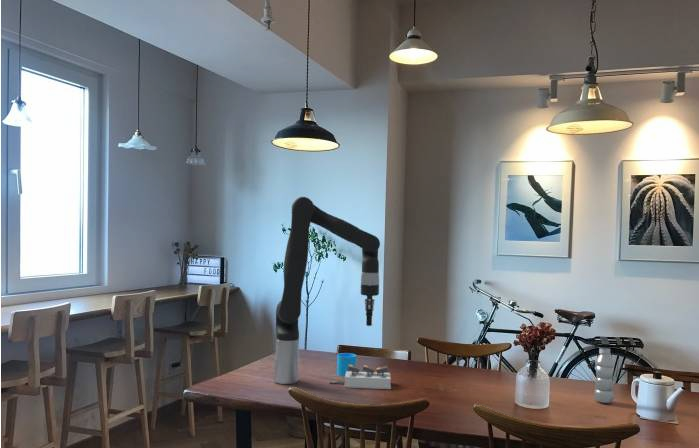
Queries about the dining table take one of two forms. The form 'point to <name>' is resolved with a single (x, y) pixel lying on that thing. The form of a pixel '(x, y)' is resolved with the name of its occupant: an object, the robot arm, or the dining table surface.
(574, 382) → the dining table surface
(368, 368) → the rocker
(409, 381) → the dining table surface
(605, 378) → the plastic bottle
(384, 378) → the power strip
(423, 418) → the dining table surface
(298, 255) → the robot arm
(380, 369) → the rocker
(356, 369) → the rocker
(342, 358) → the mug
